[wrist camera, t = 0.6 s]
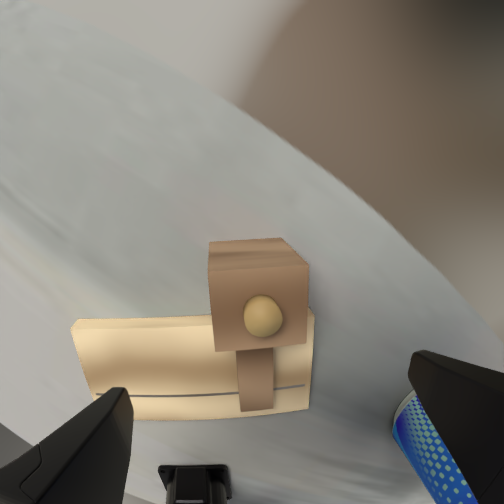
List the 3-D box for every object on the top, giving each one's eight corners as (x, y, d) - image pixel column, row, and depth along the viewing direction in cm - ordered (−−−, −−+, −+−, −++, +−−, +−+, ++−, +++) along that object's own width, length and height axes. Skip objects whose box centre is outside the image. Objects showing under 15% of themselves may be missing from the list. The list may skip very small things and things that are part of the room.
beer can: (437, 357, 24) (547, 464, 9) (462, 390, 26) (546, 476, 11) (372, 420, 25) (450, 549, 9) (407, 442, 27) (473, 542, 11)
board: (303, 396, 23) (308, 409, 21) (105, 405, 21) (100, 417, 20) (308, 306, 21) (314, 316, 19) (78, 318, 19) (70, 328, 18)
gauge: (281, 382, 22) (303, 448, 16) (222, 387, 22) (228, 458, 15) (281, 237, 20) (315, 271, 13) (209, 242, 19) (207, 279, 12)
